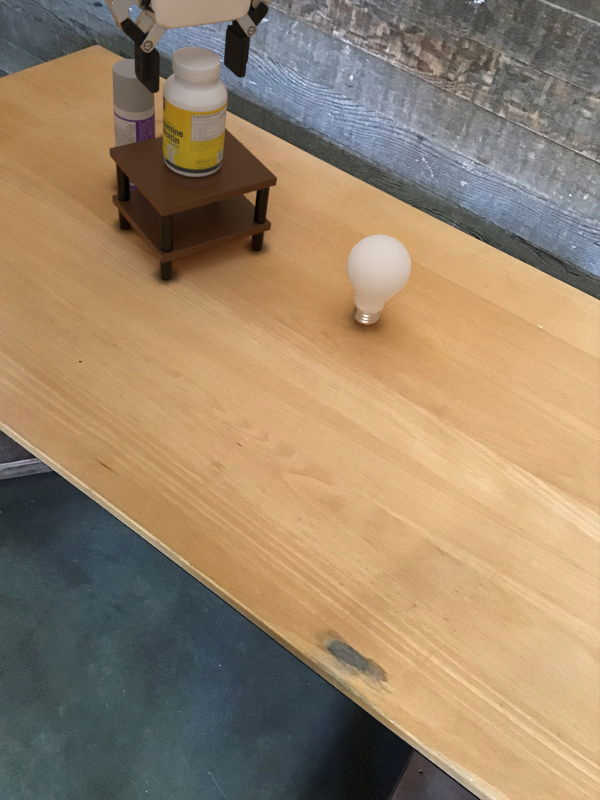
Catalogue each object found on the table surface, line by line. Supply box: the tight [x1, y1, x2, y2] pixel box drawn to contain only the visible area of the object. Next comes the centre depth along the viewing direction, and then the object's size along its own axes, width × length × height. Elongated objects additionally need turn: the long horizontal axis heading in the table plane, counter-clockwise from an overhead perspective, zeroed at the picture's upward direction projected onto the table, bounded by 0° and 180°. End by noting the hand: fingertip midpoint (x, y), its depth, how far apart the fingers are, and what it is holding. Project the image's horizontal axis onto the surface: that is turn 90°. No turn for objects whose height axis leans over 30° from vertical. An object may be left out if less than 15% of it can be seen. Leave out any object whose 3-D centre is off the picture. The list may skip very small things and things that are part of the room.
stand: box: [109, 127, 278, 282], centre depth 86 cm, size 14×12×10 cm
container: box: [111, 58, 156, 191], centre depth 89 cm, size 5×5×15 cm
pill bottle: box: [162, 46, 228, 177], centre depth 78 cm, size 6×6×12 cm
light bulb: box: [346, 233, 412, 326], centre depth 80 cm, size 7×7×11 cm
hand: (192, 78), depth 75 cm, fingers open, 9 cm apart
